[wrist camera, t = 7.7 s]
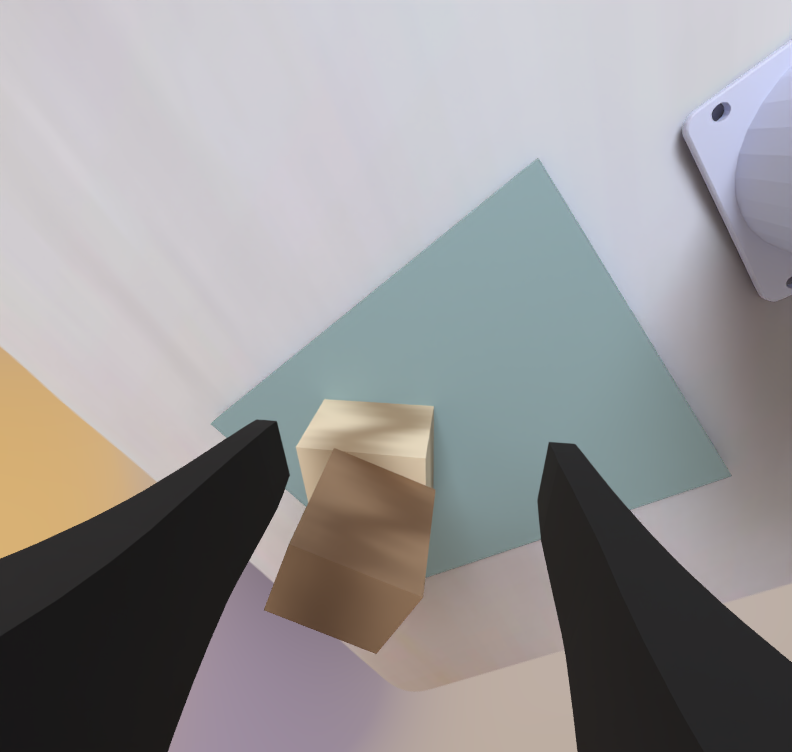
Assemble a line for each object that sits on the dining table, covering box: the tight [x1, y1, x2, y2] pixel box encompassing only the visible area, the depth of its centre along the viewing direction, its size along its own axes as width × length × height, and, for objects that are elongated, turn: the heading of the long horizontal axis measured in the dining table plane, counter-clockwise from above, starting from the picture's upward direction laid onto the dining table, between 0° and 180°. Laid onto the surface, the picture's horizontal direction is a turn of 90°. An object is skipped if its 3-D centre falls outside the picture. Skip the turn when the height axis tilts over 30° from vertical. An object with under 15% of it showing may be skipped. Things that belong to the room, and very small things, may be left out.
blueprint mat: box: [211, 158, 732, 578], centre depth 22 cm, size 22×18×1 cm
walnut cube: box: [264, 448, 435, 654], centre depth 17 cm, size 5×5×5 cm
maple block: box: [296, 399, 434, 502], centre depth 21 cm, size 6×6×4 cm
